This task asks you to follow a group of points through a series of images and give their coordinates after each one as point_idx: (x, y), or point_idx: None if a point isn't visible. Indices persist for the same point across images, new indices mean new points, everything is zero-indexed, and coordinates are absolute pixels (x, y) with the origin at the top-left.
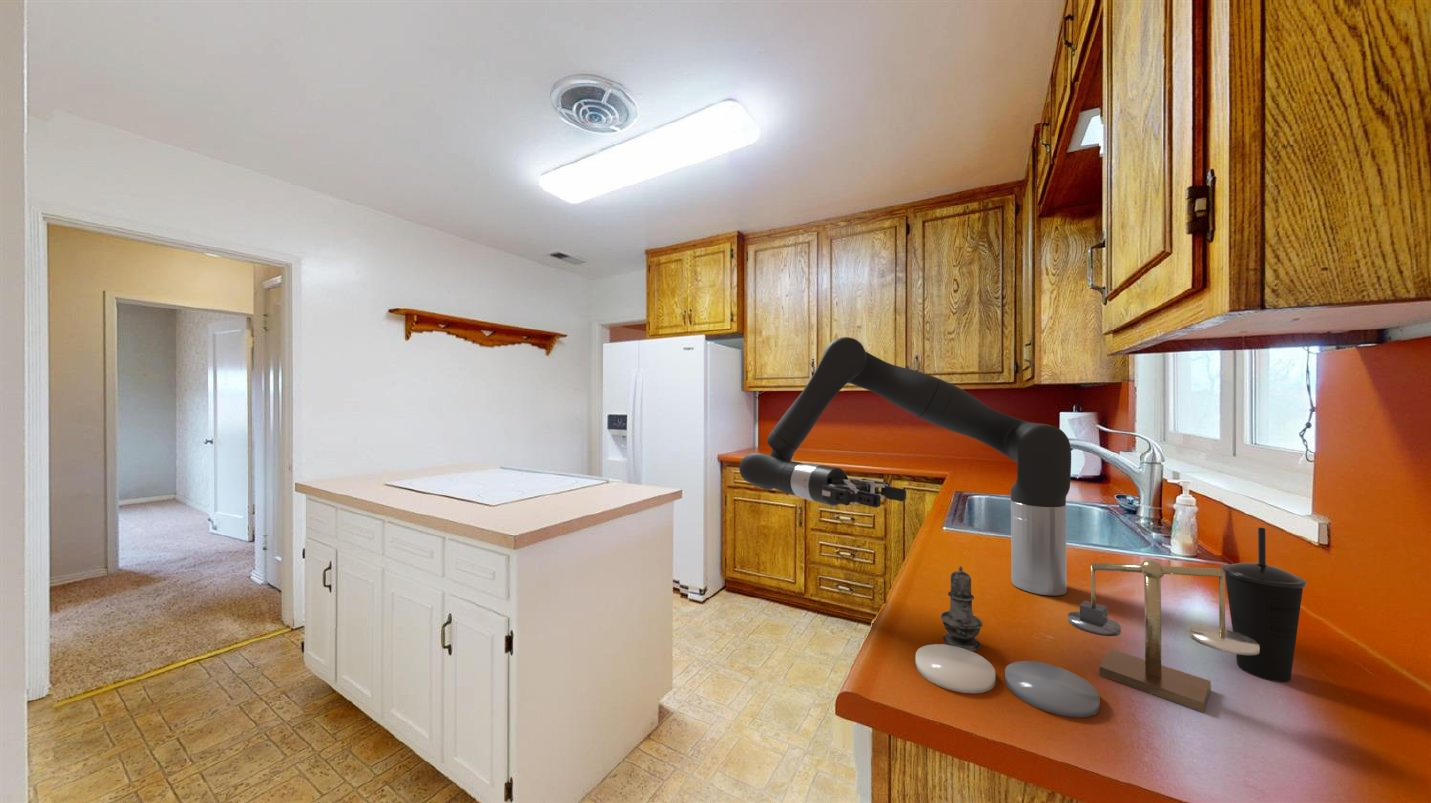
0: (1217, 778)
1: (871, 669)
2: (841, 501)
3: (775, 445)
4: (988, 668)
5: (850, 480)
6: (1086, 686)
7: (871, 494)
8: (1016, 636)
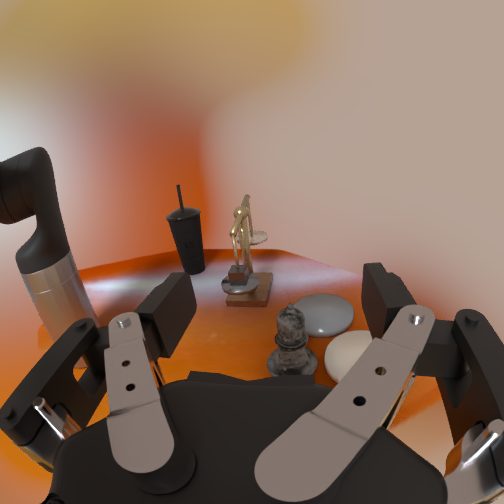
0: (335, 271)
1: (432, 397)
2: (471, 375)
3: None
4: (343, 337)
5: (168, 473)
6: (306, 299)
7: (386, 275)
8: (233, 352)
